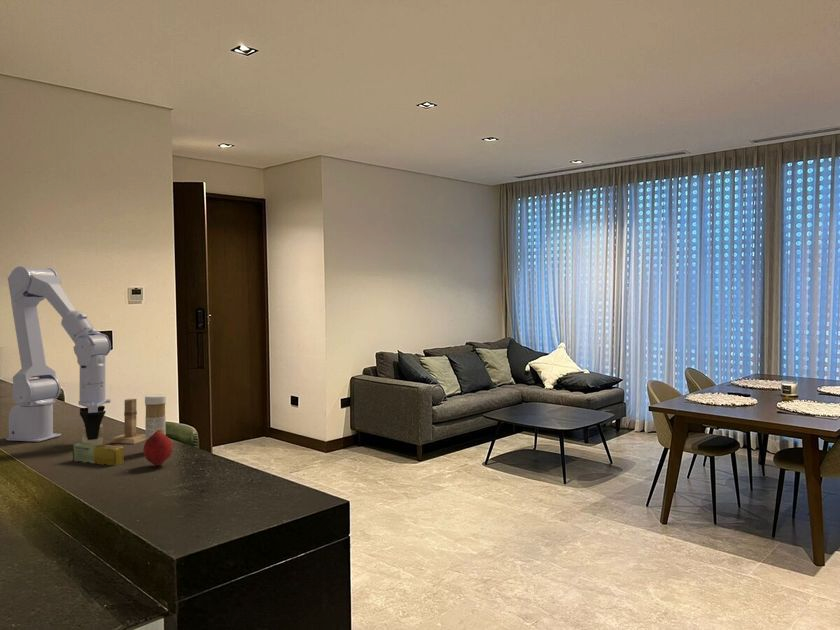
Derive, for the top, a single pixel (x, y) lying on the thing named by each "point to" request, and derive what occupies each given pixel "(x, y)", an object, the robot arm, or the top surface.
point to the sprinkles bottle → (154, 414)
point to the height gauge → (129, 425)
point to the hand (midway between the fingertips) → (92, 437)
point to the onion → (158, 448)
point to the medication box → (98, 453)
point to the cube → (96, 441)
